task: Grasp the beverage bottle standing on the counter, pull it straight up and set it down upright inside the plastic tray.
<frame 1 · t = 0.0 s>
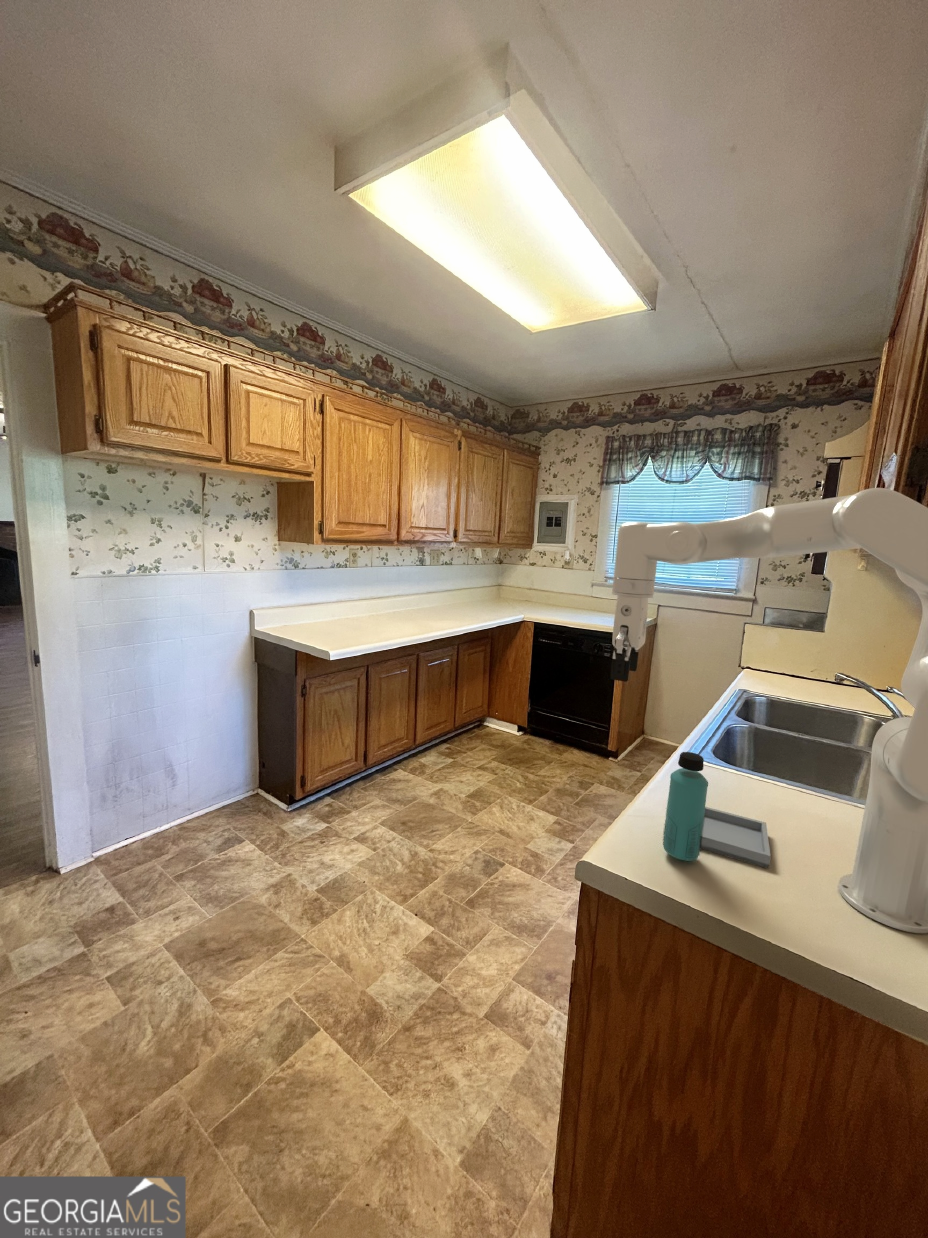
hand: (623, 674, 98), 31 cm above the countertop, tool pointing down, fingers open, 9 cm apart
tray: (728, 839, 99), on the countertop
beverage bottle: (679, 859, 92), on the countertop
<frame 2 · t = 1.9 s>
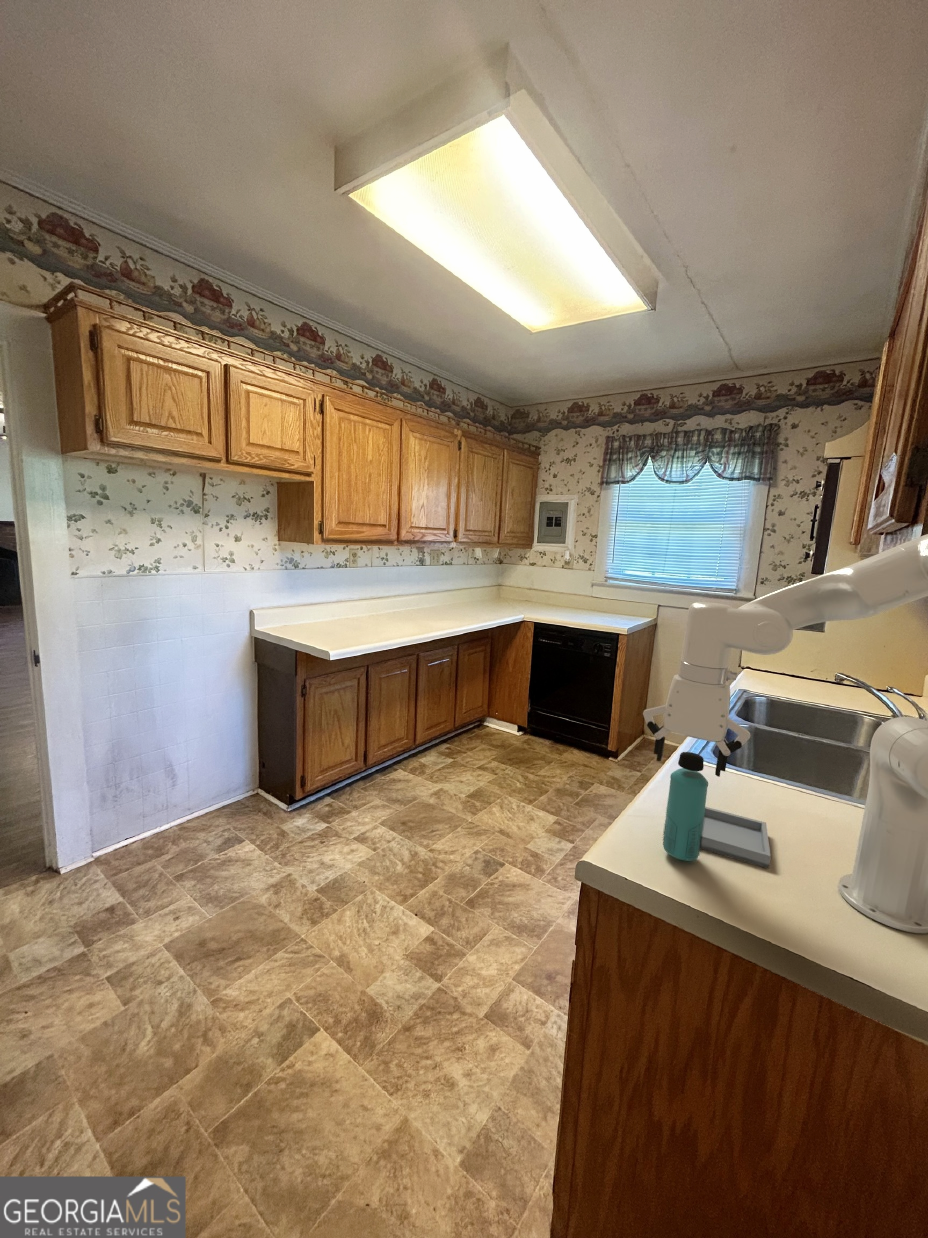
hand: (687, 765, 89), 18 cm above the countertop, tool pointing down, fingers open, 9 cm apart
nothing on the countertop moved.
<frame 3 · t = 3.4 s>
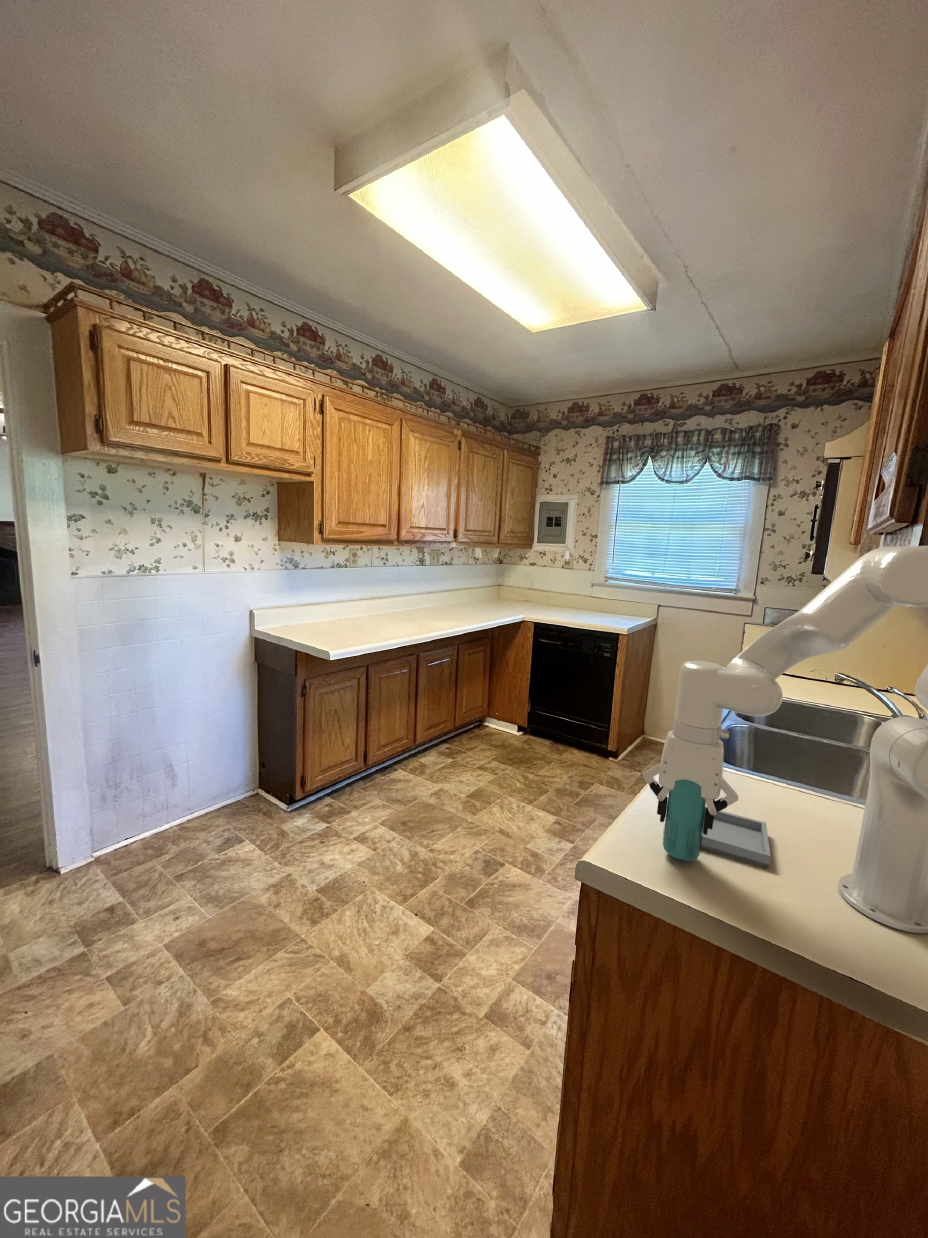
hand: (683, 824, 91), 7 cm above the countertop, tool pointing down, fingers closed on beverage bottle, 6 cm apart
beverage bottle: (679, 859, 92), on the countertop, touching gripper
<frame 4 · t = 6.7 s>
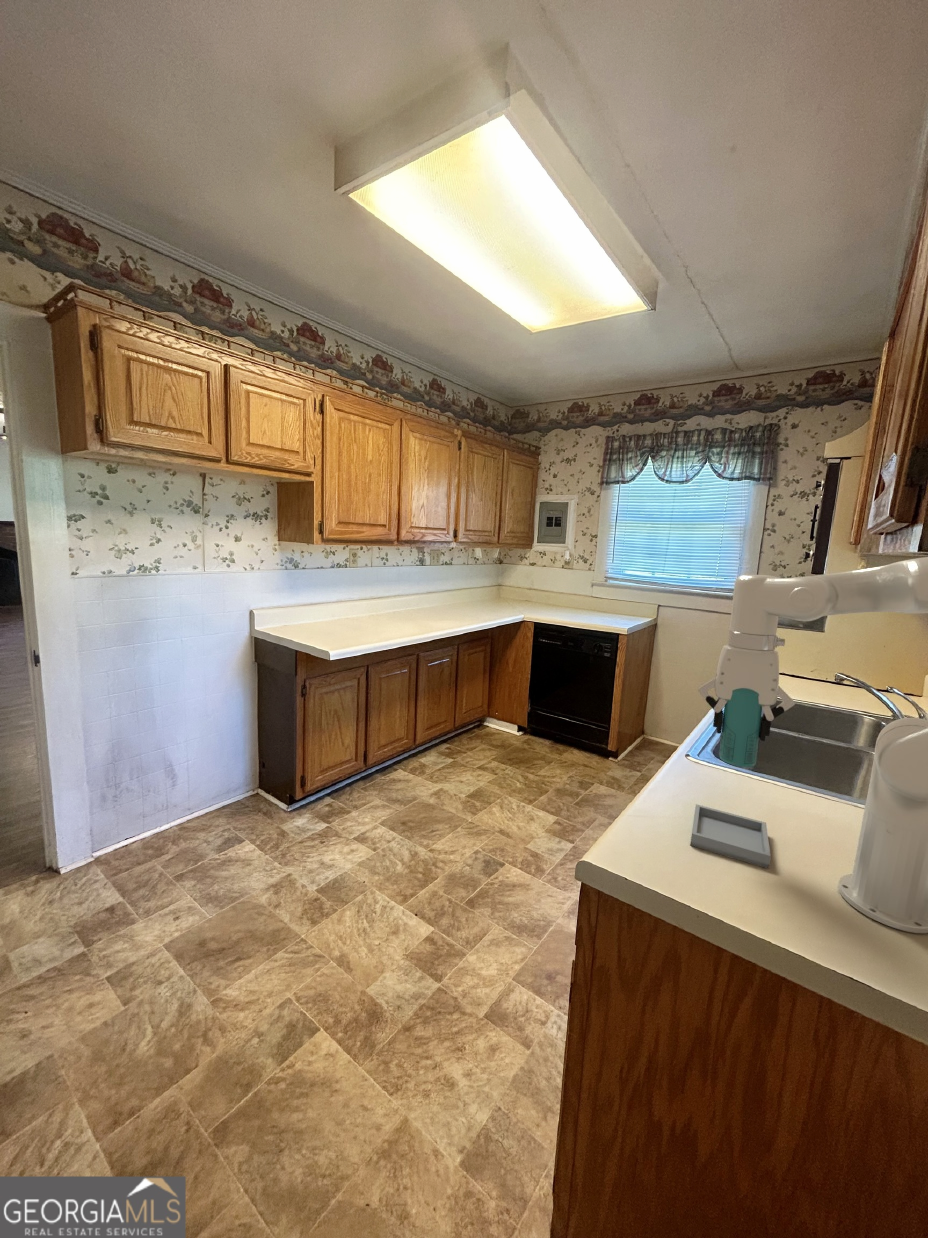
hand: (739, 734, 94), 22 cm above the countertop, tool pointing down, fingers closed on beverage bottle, 6 cm apart
beverage bottle: (735, 768, 95), point 15 cm above the countertop, touching gripper
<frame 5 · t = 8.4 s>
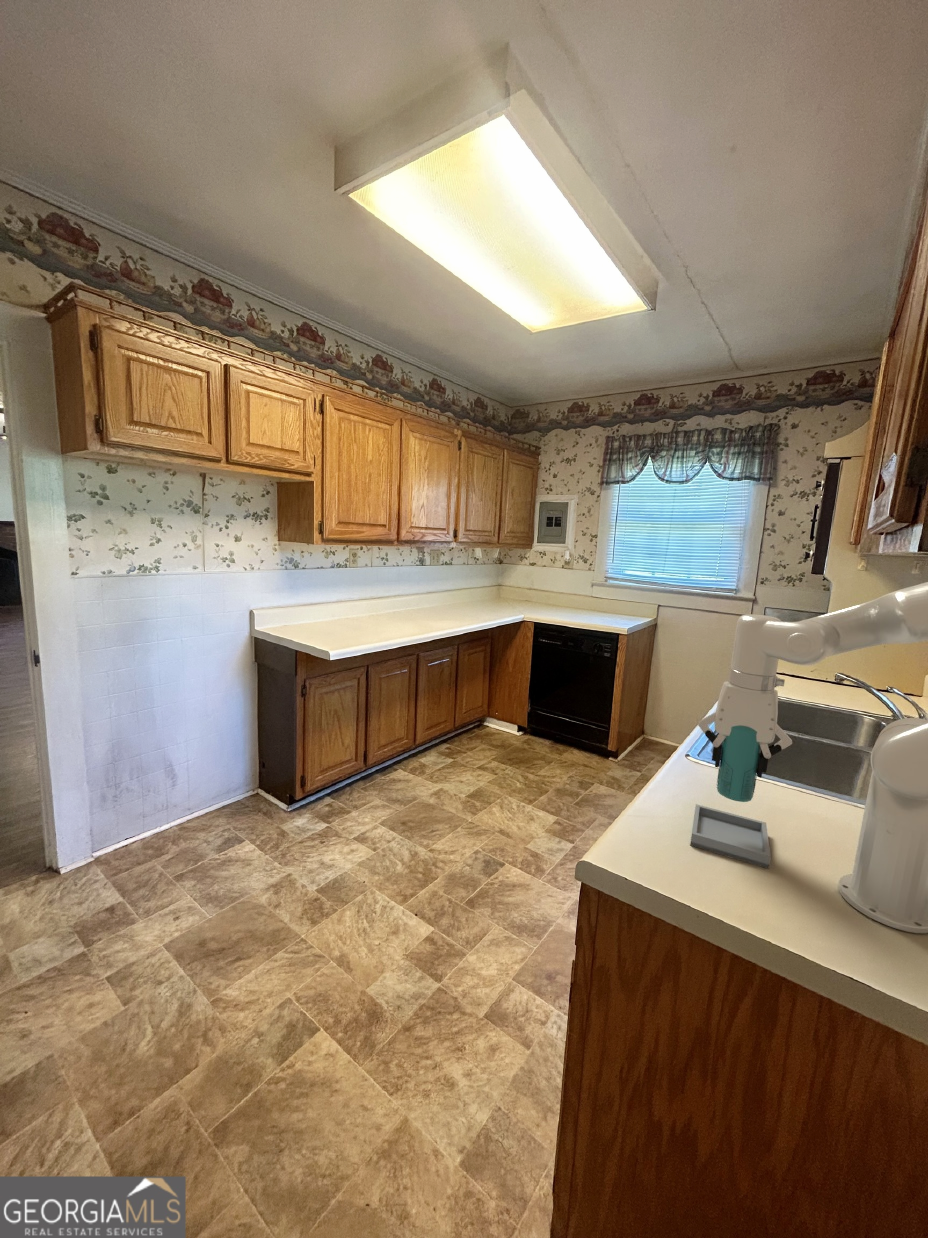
hand: (737, 769, 97), 15 cm above the countertop, tool pointing down, fingers closed on beverage bottle, 6 cm apart
beverage bottle: (732, 802, 98), point 8 cm above the countertop, touching gripper
when the fingers open (9 cm above the countertop, at t = 10.0 s): beverage bottle drops 1 cm, resting on tray.
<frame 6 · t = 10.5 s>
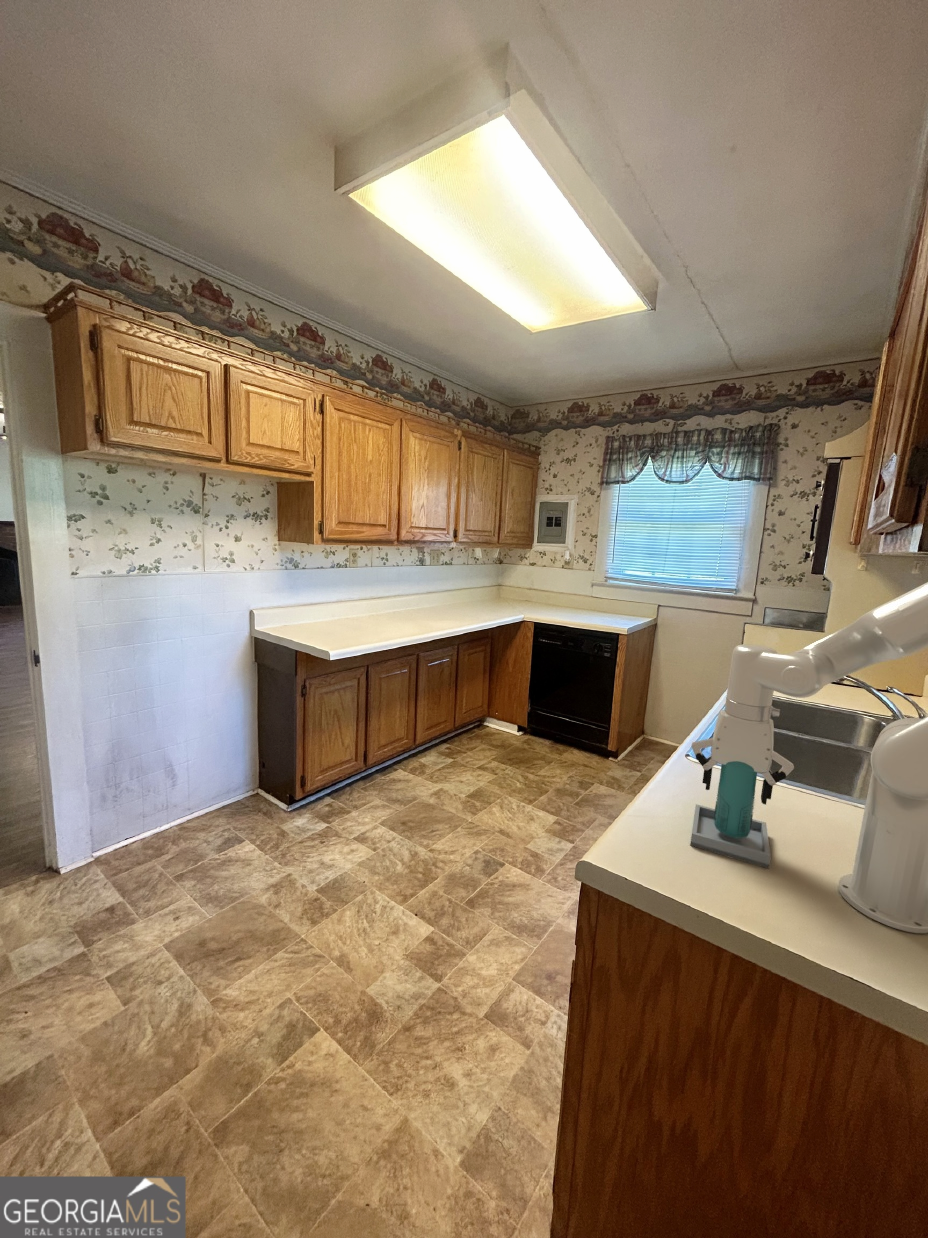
hand: (734, 794, 97), 10 cm above the countertop, tool pointing down, fingers open, 9 cm apart
beverage bottle: (729, 837, 98), point 1 cm above the countertop, touching tray
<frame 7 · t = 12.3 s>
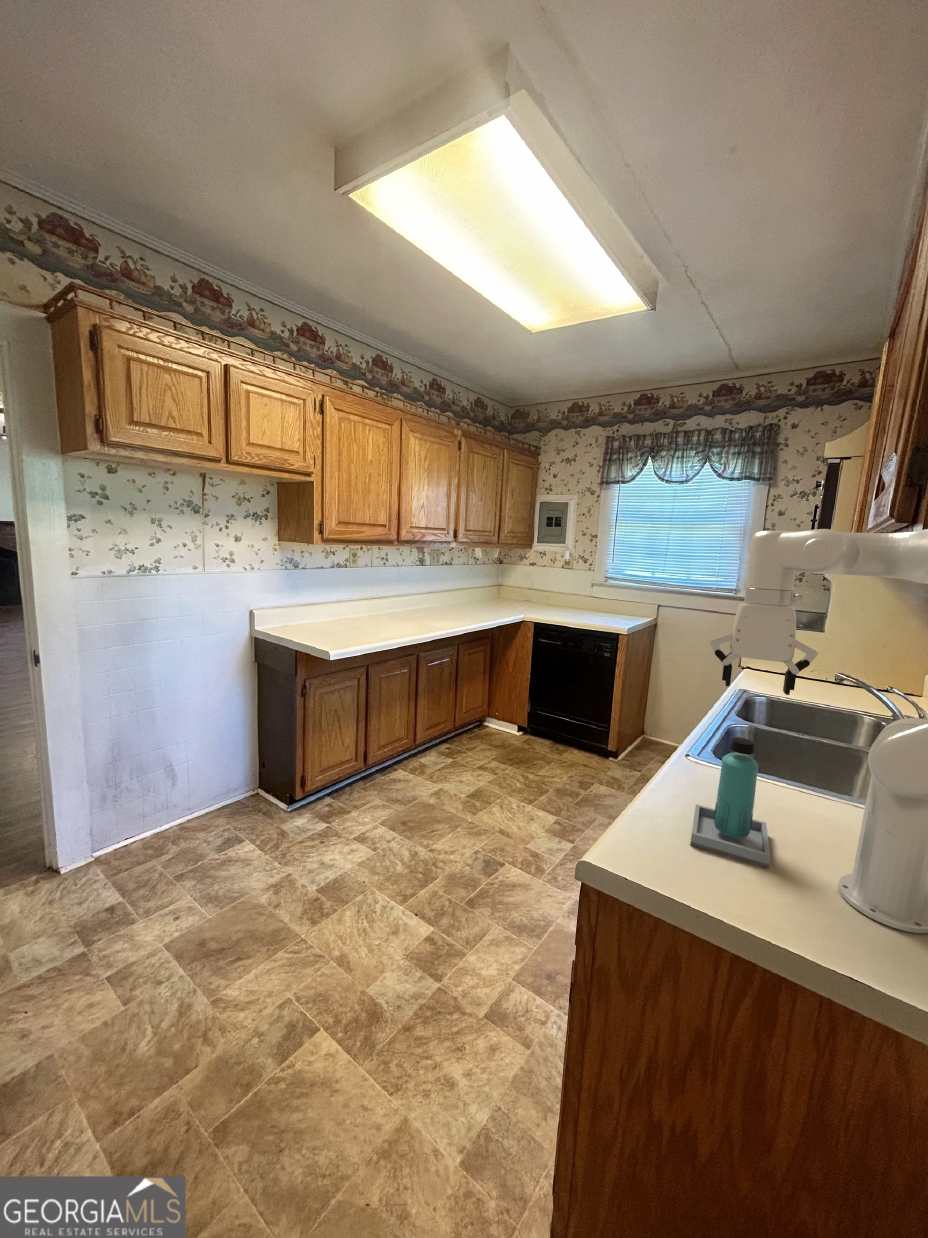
hand: (756, 688, 94), 31 cm above the countertop, tool pointing down, fingers open, 9 cm apart
nothing on the countertop moved.
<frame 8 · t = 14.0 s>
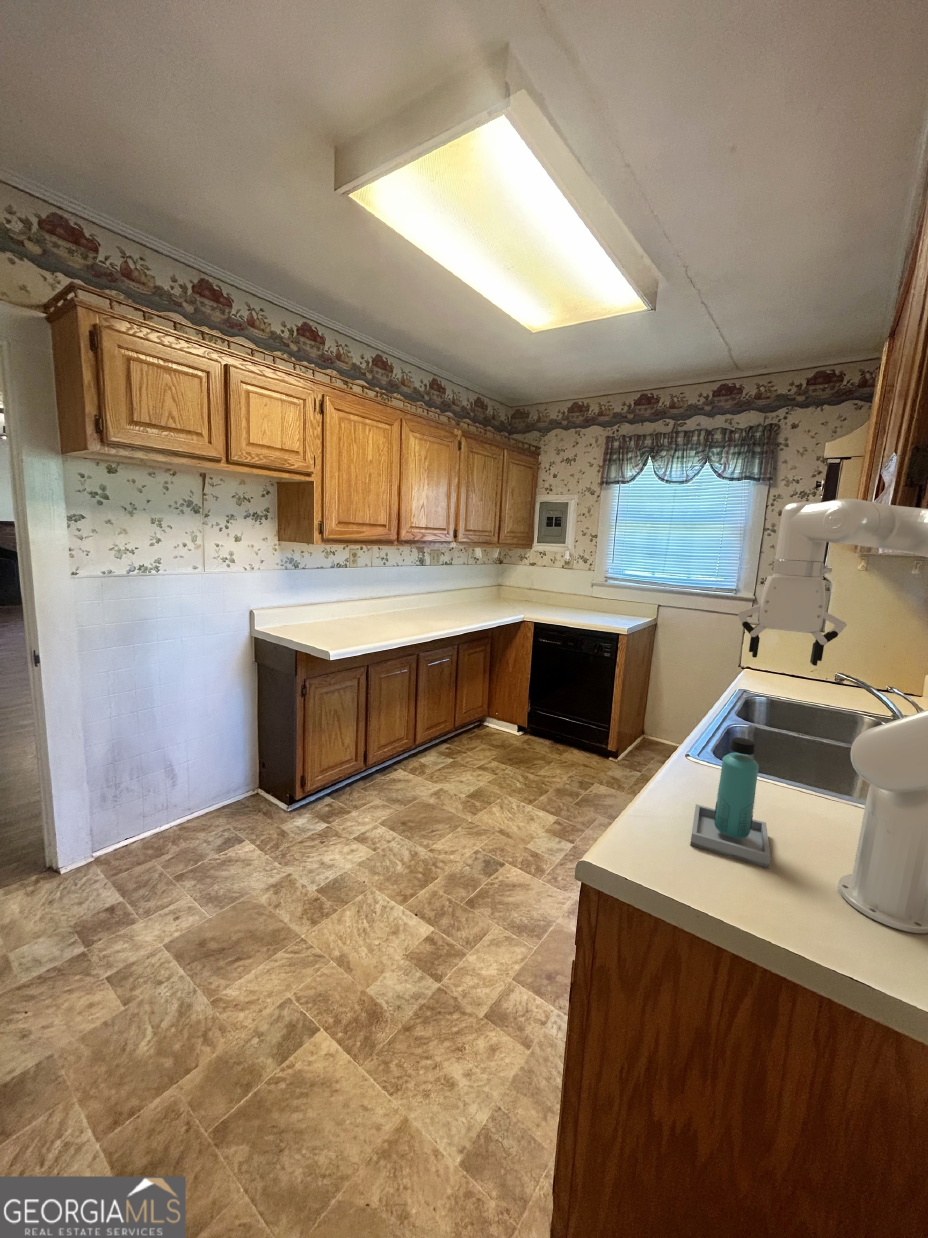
hand: (783, 660, 95), 36 cm above the countertop, tool pointing down, fingers open, 9 cm apart
nothing on the countertop moved.
at the end: beverage bottle 0.2 cm off-centre on the tray, point 0.6 cm above the tray's base; beverage bottle tilted 0°; the gripper is holding nothing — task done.
